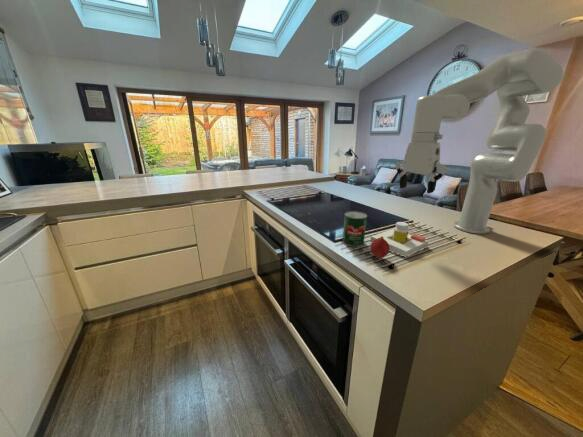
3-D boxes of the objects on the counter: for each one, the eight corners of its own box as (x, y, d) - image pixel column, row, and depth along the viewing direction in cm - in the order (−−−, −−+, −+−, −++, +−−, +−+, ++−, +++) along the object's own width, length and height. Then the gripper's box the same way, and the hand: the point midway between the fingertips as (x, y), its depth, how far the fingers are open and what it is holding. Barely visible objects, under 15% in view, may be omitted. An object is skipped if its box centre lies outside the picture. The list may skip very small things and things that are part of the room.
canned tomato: (356, 236, 93) (359, 210, 90) (368, 245, 86) (371, 216, 83) (338, 239, 91) (340, 212, 87) (349, 247, 84) (352, 219, 80)
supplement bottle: (407, 248, 84) (411, 226, 81) (393, 247, 85) (396, 225, 82) (403, 242, 88) (407, 221, 85) (390, 241, 89) (394, 220, 86)
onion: (365, 255, 79) (368, 234, 76) (378, 252, 81) (382, 231, 78) (377, 264, 74) (381, 241, 71) (391, 260, 76) (395, 238, 73)
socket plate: (392, 234, 96) (394, 226, 94) (427, 247, 85) (429, 238, 83) (370, 242, 88) (371, 234, 87) (405, 258, 77) (406, 248, 76)
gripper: (459, 138, 71) (447, 193, 77) (405, 137, 84) (399, 184, 91) (447, 139, 67) (436, 197, 73) (393, 138, 81) (387, 187, 87)
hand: (415, 189), depth 82 cm, fingers open, 9 cm apart
